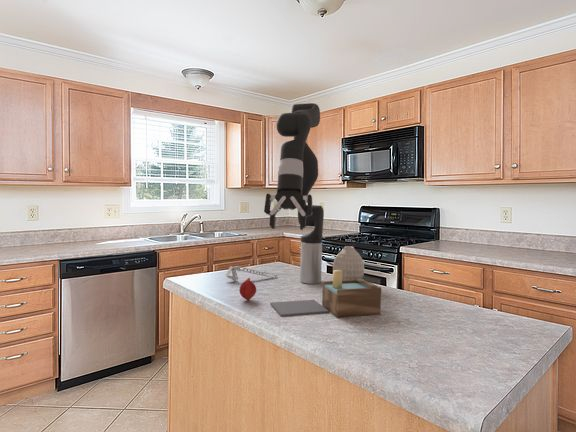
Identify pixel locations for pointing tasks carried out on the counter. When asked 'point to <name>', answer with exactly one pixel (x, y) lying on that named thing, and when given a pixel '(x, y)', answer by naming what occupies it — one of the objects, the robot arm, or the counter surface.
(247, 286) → the red oval lump
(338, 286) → the thin pale-blue panel
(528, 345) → the counter surface
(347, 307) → the box
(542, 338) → the counter surface
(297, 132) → the robot arm
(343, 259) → the vase
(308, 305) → the mat
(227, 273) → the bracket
